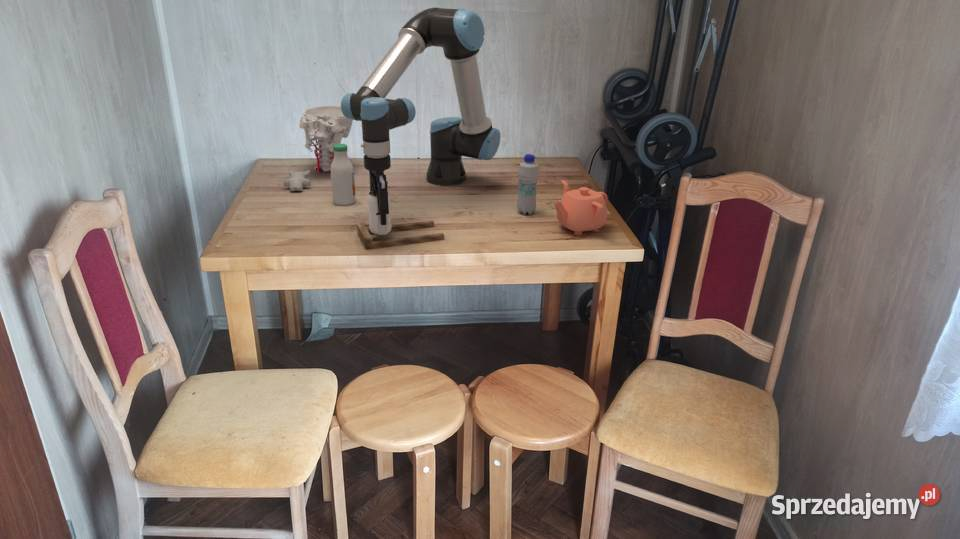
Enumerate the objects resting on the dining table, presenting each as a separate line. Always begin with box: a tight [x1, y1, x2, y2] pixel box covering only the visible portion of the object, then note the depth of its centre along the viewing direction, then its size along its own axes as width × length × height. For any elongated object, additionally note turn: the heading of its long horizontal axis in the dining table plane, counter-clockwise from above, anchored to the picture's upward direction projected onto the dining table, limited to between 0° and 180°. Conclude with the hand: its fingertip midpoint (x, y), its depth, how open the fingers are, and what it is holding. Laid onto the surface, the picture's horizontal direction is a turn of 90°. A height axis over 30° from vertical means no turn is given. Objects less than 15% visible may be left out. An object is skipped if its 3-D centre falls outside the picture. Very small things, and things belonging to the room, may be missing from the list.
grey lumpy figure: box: [282, 169, 312, 192], centre depth 234 cm, size 10×5×15 cm
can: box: [367, 191, 392, 236], centre depth 189 cm, size 6×6×12 cm
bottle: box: [516, 153, 540, 216], centre depth 211 cm, size 7×7×20 cm
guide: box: [356, 220, 445, 250], centre depth 194 cm, size 24×12×4 cm, turn 111°
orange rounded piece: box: [553, 179, 608, 237], centre depth 202 cm, size 16×17×14 cm
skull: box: [299, 105, 354, 174], centre depth 245 cm, size 25×19×23 cm
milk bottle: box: [330, 143, 356, 206], centre depth 217 cm, size 8×8×20 cm
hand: (380, 229), depth 192 cm, fingers closed on can, 6 cm apart
